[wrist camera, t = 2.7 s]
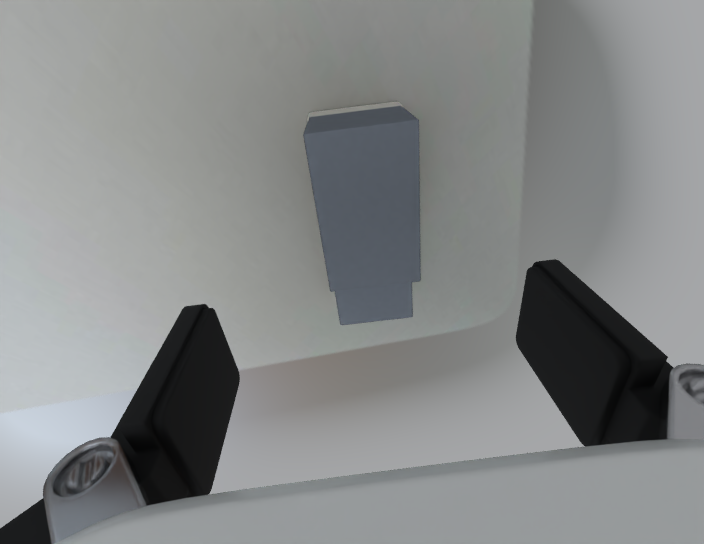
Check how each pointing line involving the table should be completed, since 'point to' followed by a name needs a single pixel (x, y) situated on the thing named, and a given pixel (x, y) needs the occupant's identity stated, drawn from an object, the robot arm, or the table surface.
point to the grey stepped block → (367, 207)
